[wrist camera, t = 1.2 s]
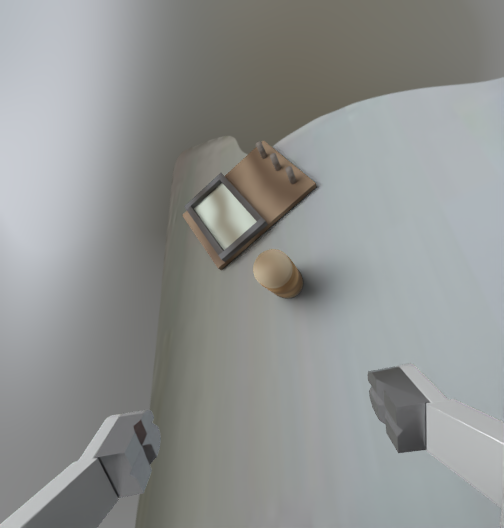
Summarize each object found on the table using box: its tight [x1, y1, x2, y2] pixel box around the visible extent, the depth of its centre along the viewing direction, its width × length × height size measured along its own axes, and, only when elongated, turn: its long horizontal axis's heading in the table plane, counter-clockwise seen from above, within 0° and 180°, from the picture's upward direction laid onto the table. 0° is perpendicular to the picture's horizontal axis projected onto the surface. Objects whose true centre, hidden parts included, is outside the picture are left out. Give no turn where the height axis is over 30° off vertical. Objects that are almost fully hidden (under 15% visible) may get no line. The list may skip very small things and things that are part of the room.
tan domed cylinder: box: [253, 249, 303, 298], centre depth 31 cm, size 5×5×8 cm
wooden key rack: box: [183, 141, 316, 270], centre depth 40 cm, size 20×14×4 cm
